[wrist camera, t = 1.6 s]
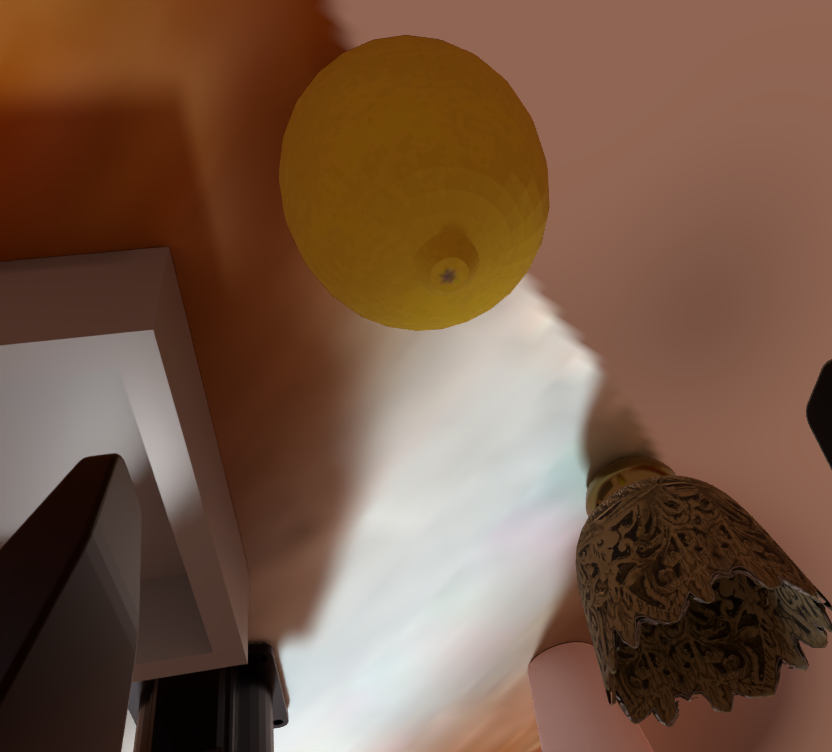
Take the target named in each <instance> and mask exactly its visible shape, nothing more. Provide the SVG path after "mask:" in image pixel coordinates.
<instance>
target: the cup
mask: <svg viewBox="0 0 832 752" xmlns="http://www.w3.org/2000/svg"><path fill="white" fill-rule="evenodd" d="M586 512H587V515H588V517H589V518H588V519H587V521H586V523H585V525H584V527H583V529H582V531H581V533H580V537H579V541H578V544H577V551H576V571H577V580H578V586H579V592H580V596H581V600H582V605H583V609H584V612H585V616H586V620H587V624H588V628H589V631H590V635H591V639H592V642H593V646H594V650H595V653H596V657H597V661H598V664H599V668H600V671H601V675H602V680H603V683H604V686H605V689H606V694H607V698H608V702H609V704H610V705H611V706H612V705H613V704H615V703H616V700H617V702H618V704H619V706H620V708H621V709H622V711H623V712H624V714H625V715H626V716H627V718H628V719H629V720H630V721H631V722H632V723H633V724H638V723H640V722H641V721H642V720H644V719H645V718H647V717H648V716H649V715H650V714H651V712H653V714H654V716H655V717H656V718H657V720H658V721H659V722H661V723H662V724H664V725H666V726H668V727H672V726H673V725H674V723H675V721H676V719H677V718H678V716H679V714H678V713H679V709H678V706H679V705H678V702H679V701H676V702H675V698H678V697H681V698H683V699H685V700H687V701H689V700H690V699H691V697H692V696H693V695H696V694H702V695H703V696H704V697H705V698H706V699H707V700H708V701H709V702H710V704H711V706H712V709H713V710H715V711H718V712H723V713H730V712H731V710H732V707H733V701H734V695H741V696H743V697H747V698H759V697H771V696H773V695H774V694H775V692H776V689H777V686H778V682H779V678H780V669H781V666H782V664H783V661H782V660H784V661H786V663H788V664H789V665H790V666H794V667H795V668H794V669H803V670H807V669H808V665H809V664H808V661H807V659H806V657H805V654H804V652H803V651H802V649H801V647H800V643H799V640H800V641H802V642H803V643H805V644H806V645H808V646H810V647H812V648H825V647H826V646H827V643H828V642H827V632H826V631H825V630H824V628H825V629H827V630H828V631H829V632H832V623H831V621H830V619H829V617H828V615H827V613H826V612H825V606H826V607H828V608H829V609H830V610H832V606H831V604H830V603H829V602H828V600H827V599H826V598H825V597H824V596H823V594H821V592H820V591H819V590H818V589H817V588H816V587H815V586H814V585H813V584H812V583H811V582H810V580H809V579H808V578H807V577H806V576H805V575H804V574H803V572H802V571H801V570H800V569H799V568H798V567H797V566H796V564H795V563H794V562H793V561H792V560H791V559H790V558H789V556H788V555H787V554H786V553H785V552H784V551H783V550H782V549H781V548H780V546H779V545H778V544H777V543H776V542H775V541H774V540H773V539H772V538H771V537H770V535H769V534H768V533H767V532H766V531H765V530H764V529H763V528H762V527H761V526H760V525H759V524H758V523H757V521H755V519H754V518H753V517H752V516H751V515H750V514H749V513H748V512H747V511H746V510H745V509H743V508H742V507H741V506H740V505H739V504H738V503H737V502H736V501H735V500H733V499H732V498H731V497H729V496H728V495H727V494H726V493H724V492H723V491H721V490H719V489H718V488H716V487H714V486H713V485H710V484H708V483H706V482H703V481H700V480H697V479H693V478H689V477H683V476H676V475H675V473H674V472H673V470H672V469H670V468H669V467H668V466H666V465H665V464H663V463H662V462H660V461H658V460H656V459H654V458H650V457H646V456H633V457H627V458H624V459H621V460H618V461H616V462H613V463H612V464H610V465H608V466H606V467H605V468H604V469H602V470H601V471H600V472H599V473H598V474H597V475H596V476H595V477H594V478H593V480H592V481H591V483H590V484H589V487H588V489H587V493H586ZM817 595H818V596H819V597H820V598H822V599H823V600H824V601H826V602H825V603H822V602H821V601H820V600H819V599H818V597H817ZM824 605H825V606H824ZM786 663H784V664H785V665H786ZM792 668H793V667H789V669H792ZM610 692H612V704H611V693H610ZM733 693H736V694H733ZM695 698H697V697H695ZM690 701H691V700H690Z"/></svg>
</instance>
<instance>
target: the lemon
mask: <svg viewBox="0 0 832 752" xmlns="http://www.w3.org/2000/svg"><path fill="white" fill-rule="evenodd" d="M279 184H280V191H281V197H282V204H283V210H284V216H285V220H286V223H287V226H288V228H289V230H290V232H291V235H292V237H293V239H294V241H295V243H296V245H297V248H298V250H299V252H300V254H301V256H302V258H303V260H304V262H305V263H306V265H307V266H308V267H309V269H310V270H311V271H312V272H313V274H314V275H315V276H316V277H317V278H318V280H319V281H320V282H321V283H322V284H323V286H324V287H325V288H326V289H327V290H328V292H329V293H330V294H331V295H332V296H333V297H334V298H336V299H337V300H339V301H340V302H341V303H343V304H344V305H346V306H347V307H348V308H350V309H351V310H353V311H354V312H356V313H357V314H358V315H360V316H361V317H364V318H367V319H369V320H372V321H374V322H377V323H380V324H382V325H385V326H388V327H394V328H401V329H408V330H415V331H420V330H434V329H444V328H447V327H450V326H454V325H457V324H461V323H464V322H467V321H469V320H471V319H473V318H475V317H477V316H479V315H481V314H483V313H485V312H486V311H488V310H490V309H491V308H493V307H494V306H495V305H496V304H498V303H499V302H500V301H501V300H502V299H504V298H505V297H506V296H507V295H509V294H510V293H511V292H512V290H513V289H514V288H515V287H516V285H517V284H518V283H519V282H520V280H521V279H522V278H523V277H524V275H525V274H526V273H527V271H528V270H529V268H530V266H531V264H532V262H533V260H534V258H535V256H536V254H537V252H538V250H539V248H540V245H541V243H542V239H543V234H544V230H545V226H546V221H547V217H548V212H549V188H548V169H547V163H546V159H545V156H544V152H543V149H542V146H541V143H540V140H539V137H538V134H537V131H536V128H535V125H534V122H533V120H532V118H531V116H530V114H529V113H528V111H527V110H526V108H525V107H524V105H523V104H522V102H521V101H520V99H519V98H518V96H517V95H516V93H515V92H514V90H513V89H512V88H511V86H510V85H509V83H508V82H507V81H506V80H505V79H504V78H503V77H502V76H501V75H500V74H498V73H497V72H496V71H495V70H493V69H492V68H491V67H490V66H489V65H487V64H486V63H485V62H484V61H482V60H481V59H480V58H479V57H477V56H476V55H474V54H473V53H471V52H468V51H466V50H464V49H461V48H459V47H457V46H454V45H452V44H450V43H447V42H445V41H442V40H439V39H432V38H425V37H417V36H410V35H402V36H396V37H389V38H382V39H375V40H371V41H369V42H367V43H365V44H362V45H360V46H358V47H356V48H353V49H351V50H349V51H347V52H344V53H342V54H341V55H340V56H339V57H337V58H336V59H335V60H334V61H332V62H331V63H330V64H329V65H327V66H326V67H325V68H324V69H322V70H321V71H320V72H319V73H317V75H316V76H315V77H314V79H313V80H312V81H311V83H310V84H309V85H308V87H307V88H306V89H305V91H304V92H303V93H302V95H301V96H300V98H299V99H298V100H297V102H296V104H295V107H294V110H293V112H292V115H291V117H290V120H289V122H288V125H287V128H286V130H285V133H284V136H283V140H282V149H281V158H280V167H279Z"/></svg>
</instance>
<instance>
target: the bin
mask: <svg viewBox="0 0 832 752" xmlns="http://www.w3.org/2000/svg"><path fill="white" fill-rule="evenodd" d="M111 453H116V454H119V455H121V457H122V458H123V459H124V461H125V463H126V466H127V468H128V471H129V474H130V476H131V479H132V482H133V484H134V487H135V490H136V492H137V495H138V498H139V501H140V505H141V512H142V533H141V569H140V605H139V630H138V641H137V650H136V657H135V664H134V670H133V677H132V682H138V681H144V680H150V679H156V678H163V677H169V676H175V675H181V674H187V673H193V672H199V671H206V670H212V669H218V668H224V667H230V666H236V665H242V664H248V566H247V562H246V558H245V554H244V550H243V546H242V542H241V537H240V533H239V529H238V525H237V521H236V517H235V513H234V509H233V505H232V501H231V497H230V493H229V489H228V485H227V481H226V477H225V473H224V468H223V464H222V460H221V456H220V452H219V448H218V444H217V440H216V436H215V432H214V428H213V424H212V420H211V416H210V412H209V408H208V403H207V399H206V395H205V391H204V387H203V383H202V379H201V375H200V371H199V367H198V363H197V359H196V355H195V351H194V347H193V343H192V339H191V334H190V330H189V326H188V322H187V318H186V314H185V310H184V306H183V302H182V298H181V294H180V290H179V286H178V282H177V278H176V274H175V269H174V265H173V261H172V257H171V253H170V249H169V247H158V248H147V249H136V250H125V251H114V252H103V253H92V254H81V255H70V256H59V257H48V258H36V259H25V260H14V261H3V262H0V548H1V547H2V546H3V545H4V544H5V543H6V542H7V541H8V540H9V538H10V537H11V536H12V535H13V534H14V533H15V532H16V531H17V530H18V528H19V527H20V526H21V525H22V524H23V523H24V522H25V521H26V520H27V518H28V517H29V516H30V515H31V514H32V513H33V512H34V511H35V510H36V508H37V507H38V506H39V505H40V504H41V503H42V502H43V501H44V500H45V499H46V497H47V496H48V495H49V494H50V493H51V492H52V491H53V490H54V489H55V487H56V486H57V485H58V484H59V483H60V482H61V481H62V480H63V479H64V477H65V476H66V475H67V474H68V473H69V472H70V471H71V470H72V469H73V468H74V466H75V465H76V464H77V463H78V462H79V461H80V460H82V459H83V458H85V457H88V456H96V455H103V454H111Z"/></svg>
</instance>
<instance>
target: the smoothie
mask: <svg viewBox="0 0 832 752" xmlns="http://www.w3.org/2000/svg"><path fill="white" fill-rule="evenodd" d="M528 676H529V682H530V688H531V693H532V699H533V704H534V710H535V715H536V721H537V726H538V732H539V737H540V743H541V748H542V752H653V750H652V748H651V747H650V745H649V743H648V741H647V739H646V737H645V736H644V734H643V732H642V730H641V728H640V727H639V725H638V724H633V723H632V722H631V721H630V720H629V719H628V718H627V716H626V715H625V714H624V712H623V711H622V709H621V708H620V706H619V704H618V702H617V700H616V703H615V704H613V705H612V706H611V705H610V704H609V702H608V698H607V694H606V689H605V686H604V683H603V680H602V675H601V671H600V668H599V664H598V661H597V657H596V653H595V650H594V646H592V645H590V644H587V643H582V642H572V643H565V644H561V645H557V646H554V647H552V648H550V649H547V650H546V651H544V652H542V653H541V654H539V655H538V656H537V657H535V658H534V659H533V660H532V662H531V663H530V665H529V667H528ZM610 693H611V704H612V692H610Z"/></svg>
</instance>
